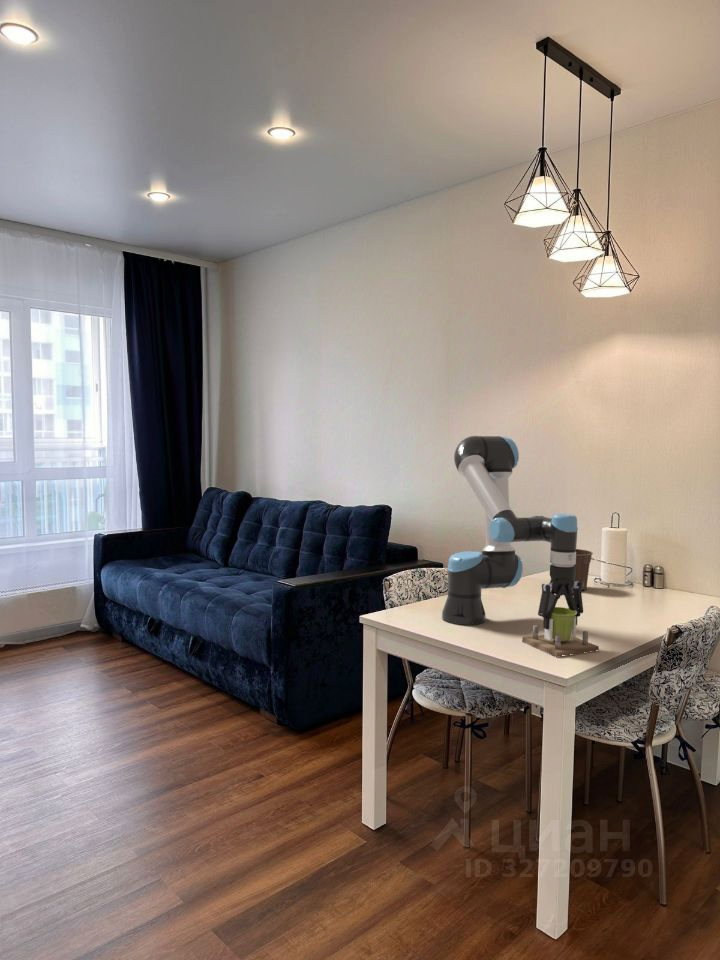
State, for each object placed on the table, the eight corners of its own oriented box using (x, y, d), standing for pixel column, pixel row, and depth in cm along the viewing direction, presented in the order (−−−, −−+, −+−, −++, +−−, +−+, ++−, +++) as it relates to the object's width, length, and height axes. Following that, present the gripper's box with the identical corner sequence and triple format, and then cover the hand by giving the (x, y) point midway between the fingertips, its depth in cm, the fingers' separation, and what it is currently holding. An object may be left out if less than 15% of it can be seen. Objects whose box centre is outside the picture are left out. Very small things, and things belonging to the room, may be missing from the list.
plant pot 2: (557, 592, 283) (558, 554, 282) (547, 583, 299) (549, 547, 298) (596, 593, 282) (597, 555, 281) (584, 584, 298) (586, 548, 297)
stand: (522, 641, 211) (522, 624, 211) (562, 636, 218) (563, 619, 217) (556, 657, 197) (557, 638, 196) (598, 651, 203) (599, 633, 203)
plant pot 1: (576, 644, 201) (577, 615, 201) (543, 641, 204) (544, 613, 203) (575, 635, 210) (576, 608, 210) (544, 632, 213) (545, 605, 212)
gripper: (543, 569, 198) (540, 644, 199) (598, 564, 207) (595, 637, 208) (527, 564, 205) (524, 637, 206) (581, 560, 213) (578, 631, 215)
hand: (559, 637), depth 207 cm, fingers closed on plant pot 1, 8 cm apart
